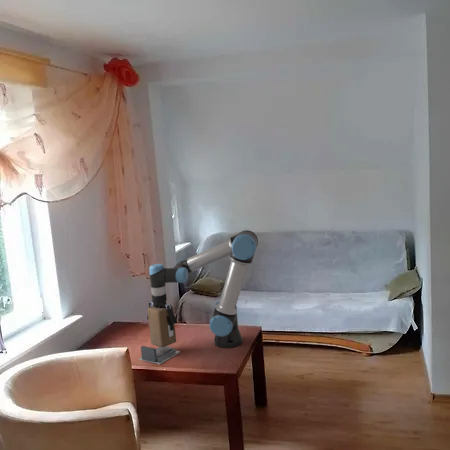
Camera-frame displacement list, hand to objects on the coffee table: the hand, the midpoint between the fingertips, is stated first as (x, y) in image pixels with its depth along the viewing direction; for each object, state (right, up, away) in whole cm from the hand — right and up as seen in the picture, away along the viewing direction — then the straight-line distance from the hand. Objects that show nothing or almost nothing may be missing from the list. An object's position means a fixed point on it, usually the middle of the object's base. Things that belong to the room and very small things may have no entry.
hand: (162, 334), depth 285 cm
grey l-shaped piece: (-1, -11, -1) cm, 11 cm away
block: (0, -5, +1) cm, 5 cm away
